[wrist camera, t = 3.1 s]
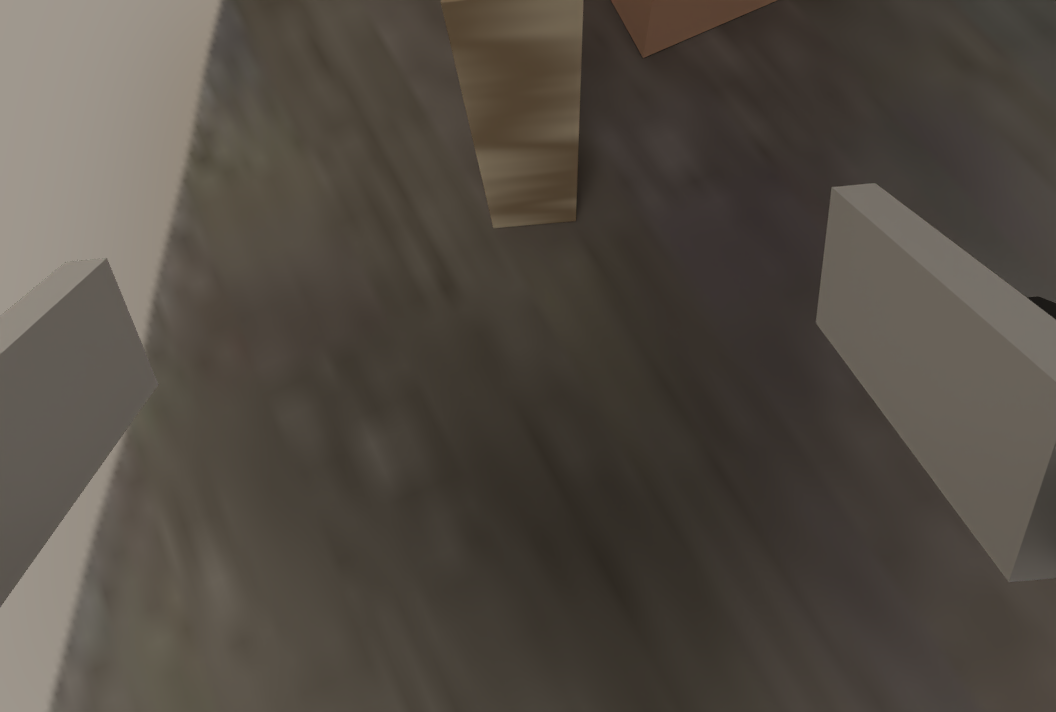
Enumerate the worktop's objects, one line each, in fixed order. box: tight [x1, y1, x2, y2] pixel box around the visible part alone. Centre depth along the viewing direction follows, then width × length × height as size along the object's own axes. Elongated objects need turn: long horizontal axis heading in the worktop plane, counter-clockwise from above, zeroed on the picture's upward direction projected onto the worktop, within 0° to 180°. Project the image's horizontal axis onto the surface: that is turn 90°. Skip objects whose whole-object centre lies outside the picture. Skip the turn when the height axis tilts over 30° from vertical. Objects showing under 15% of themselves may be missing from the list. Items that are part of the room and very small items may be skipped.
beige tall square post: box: [441, 0, 583, 228], centre depth 22 cm, size 3×3×12 cm
